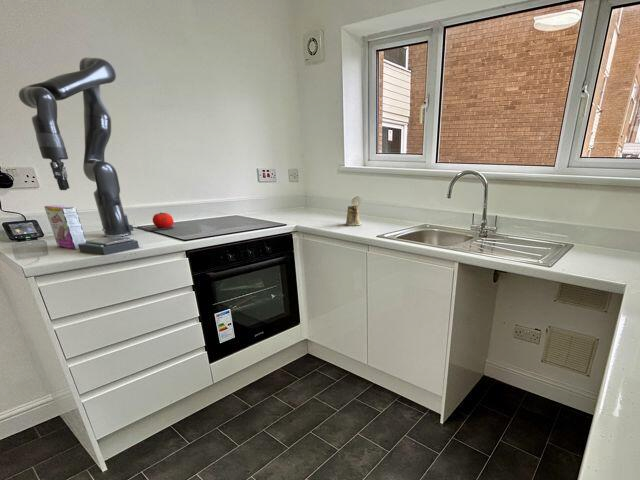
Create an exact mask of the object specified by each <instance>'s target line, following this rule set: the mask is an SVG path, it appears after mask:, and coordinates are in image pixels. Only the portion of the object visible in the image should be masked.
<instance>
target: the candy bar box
mask: <svg viewBox="0 0 640 480" xmlns="http://www.w3.org/2000/svg"><path fill="white" fill-rule="evenodd" d="M44 210H45V213H46V215H47V218H48V219H47V220H48V221H49V225H50V227H51V231H52V233H53V236H54V239H55V243H56V246H57V247H59V248H65V249H71V250H80V249H79V246H78V244H83V243H86V240H87V239H86V235H85V233H84V230H83V227H82V226H83V225H82V223H81V220H80V217H79V213H78V210H77V207H76V206H69V205H61V204H53V205H52V204H51V205H44Z"/></svg>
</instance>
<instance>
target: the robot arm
mask: <svg viewBox="0 0 640 480" xmlns="http://www.w3.org/2000/svg"><path fill="white" fill-rule="evenodd" d="M78 68H79V70H78V71H71V72H67V73H62V74H58V75H56V76H53V77H50V78H49V79H46V80H44V81H41V82H37V83H33V84H29V85H26V86H23V87H22V88H20V89H19V91H18V98H19V100H20V102H21V103H22V104H23V105H25V106H26V107H28V108H30V109H36V114H35V115H33V116H31V123H32V126H33V129H34V133H35V139H36V142H37V145H38V149H39V151H40V155H41V158H42V159H45V160H50V161H49V167H50V169H51V171H52V174H53V178H54V179H55V180H56V182H57V186H58V189H59V190H60V191H67V190H68V189H69V190H70V185H69V181H68V172H67V168H66V165H65V163H64V161H62V160H69V156H68V152H67V149H66V146H65V142H64V139H63V137H62V135H61V130H60V127H59V123H58V102H57V101H63V100H66V99H68V98H71V97H73V96H74V95H77V94H79V93H81V92H82V102H83V103H82V104H83V129H84V130H83V131H84V153H83V163H82V164H83V165H82V171H83V173H84V175H85V177H86V178H87V179H88V180H90V181H91V182H94V183H95V185H96V189H95V190H94V191H93V197H94V201H95V204H96V208H97V211H98V216H99V219H100V223H101V226H102V228H101V231H102V232H103V234H104V236H105V237H110V236H119V237H126V236H130V235H132V232H134V231H135V230H134V229H136V230H142V231H145V232H156V231H162V230H170V229H173V228H174V227H173V226H172V227H168V228H160V229H159V228H156V229H155V228H154V229H146V228H143V227H137V226H133V224H130V223H129V218H128V215H127V214H126V213H125V212H124V208H123V203H122V199H121V195H120V194H121V186H120V181H119V176H118V173H117V170H116V168H115V166H113V165H112V164H111V163H110V162H108V161H106V160H105V153H106V148H107V145H108V143H109V142H110V139H111V136H112V117H111V114H110V112H109V110H108V108H107V106H106V104H105V103H104V101H103V99H102V96H101V95H102V94H101V85H106V84H112V83H113V82H115V81H116V79H117V72H116V68H115V67H114V66H113V64H112V63H111V62H110V61H109V60H107V59H105V58H101V57H90V56H89V57H86V56H85V57H82V58H81V59H80V61H79V67H78Z"/></svg>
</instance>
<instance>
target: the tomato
mask: <svg viewBox="0 0 640 480" xmlns="http://www.w3.org/2000/svg"><path fill="white" fill-rule="evenodd" d="M152 223H153V225H154V226H155V227H156V229H160V228H168V227H173V225H174V223H175V222H174V218H173V216H172V215H171V214H169V213H167V212H158V213H155V214H154V215H153V216H152Z"/></svg>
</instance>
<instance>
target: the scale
mask: <svg viewBox="0 0 640 480" xmlns="http://www.w3.org/2000/svg"><path fill="white" fill-rule="evenodd" d="M78 246H79V249H78V250H79V252H80V253H85V254H86V253H87V254H94V255H101V256H107V255H111V254H116V253H120V252H125V251H131V250H135V249H139V248H140V245H139V241H138V240H136V239H134V240H131V241H126V242H121V243H115V244H110V245H101V244H93V243H83V244H78Z"/></svg>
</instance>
